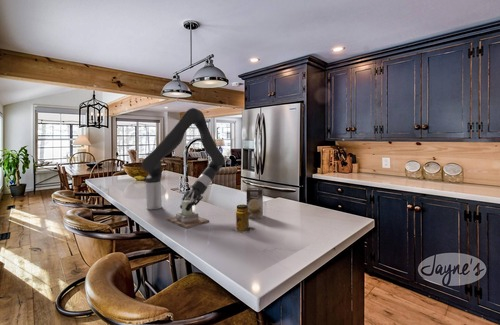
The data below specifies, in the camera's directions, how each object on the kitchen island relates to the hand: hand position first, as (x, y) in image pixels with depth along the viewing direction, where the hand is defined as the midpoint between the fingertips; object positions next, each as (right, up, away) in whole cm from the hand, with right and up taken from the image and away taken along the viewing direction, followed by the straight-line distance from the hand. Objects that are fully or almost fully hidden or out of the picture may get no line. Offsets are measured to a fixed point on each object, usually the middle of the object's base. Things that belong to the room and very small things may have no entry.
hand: (184, 209), depth 140 cm
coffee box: (+38, -6, +8) cm, 39 cm away
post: (+1, -6, +2) cm, 6 cm away
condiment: (+33, -8, -12) cm, 36 cm away
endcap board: (+1, -7, +2) cm, 7 cm away
